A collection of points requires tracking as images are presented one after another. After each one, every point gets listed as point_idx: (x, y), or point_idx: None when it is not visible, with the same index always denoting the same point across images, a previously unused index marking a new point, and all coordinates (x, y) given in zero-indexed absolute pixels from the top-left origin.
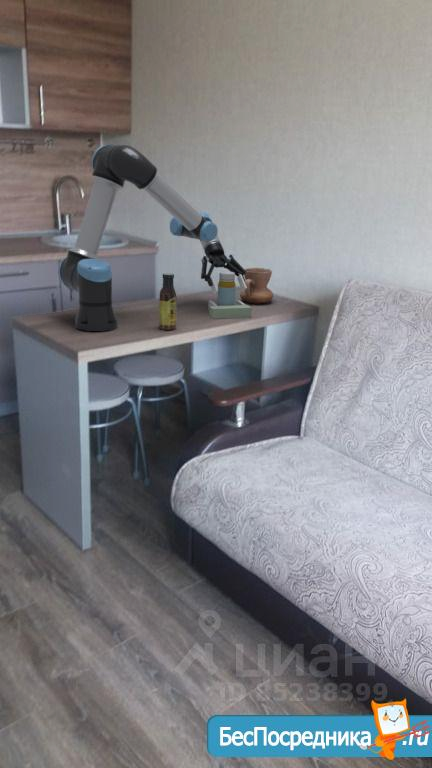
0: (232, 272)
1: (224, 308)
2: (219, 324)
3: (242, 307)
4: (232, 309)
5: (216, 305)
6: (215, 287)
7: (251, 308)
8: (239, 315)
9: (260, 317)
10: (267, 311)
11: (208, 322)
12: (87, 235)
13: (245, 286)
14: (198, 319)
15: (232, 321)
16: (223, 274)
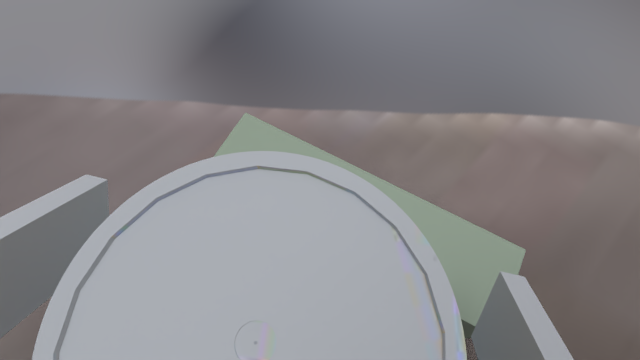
0: (71, 318)
1: (433, 205)
2: (520, 152)
3: (295, 150)
4: (374, 179)
5: None
6: (539, 306)
7: (247, 115)
8: None
9: (207, 118)
10: (36, 184)
11: (557, 219)
12: None
13: (86, 184)
14: (582, 314)
15: (412, 152)
16: (446, 284)
